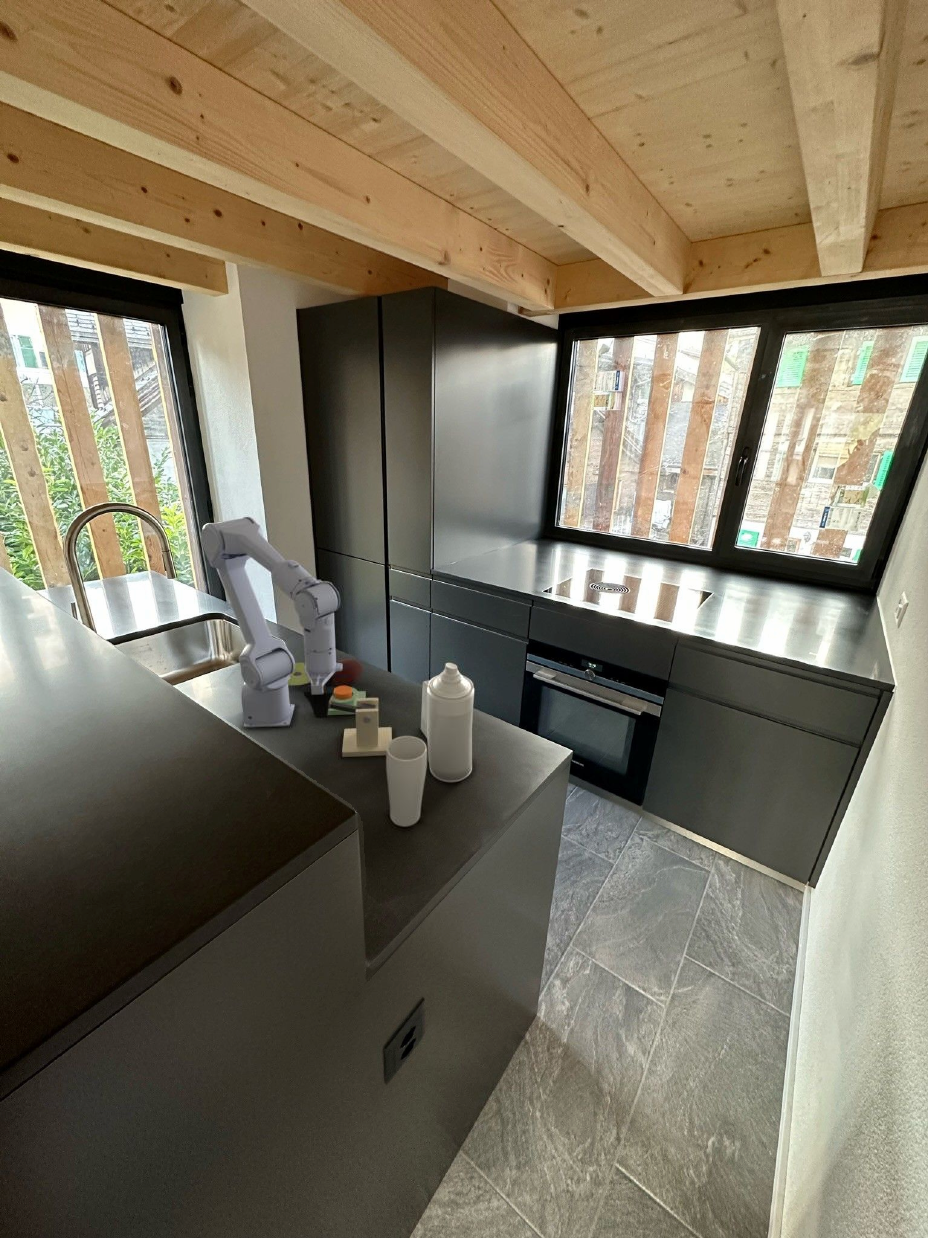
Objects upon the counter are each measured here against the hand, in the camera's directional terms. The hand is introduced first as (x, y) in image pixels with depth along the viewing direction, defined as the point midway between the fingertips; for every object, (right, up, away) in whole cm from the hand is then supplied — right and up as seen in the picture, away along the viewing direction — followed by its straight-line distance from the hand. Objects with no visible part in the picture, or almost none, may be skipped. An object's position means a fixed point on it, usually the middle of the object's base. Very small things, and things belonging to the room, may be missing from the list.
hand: (323, 706), depth 103 cm
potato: (-2, +1, +27) cm, 27 cm away
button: (0, 0, +17) cm, 17 cm away
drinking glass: (+18, -18, -12) cm, 28 cm away
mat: (-14, +2, +27) cm, 30 cm away
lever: (+4, -2, +1) cm, 4 cm away
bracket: (+8, -9, +5) cm, 13 cm away
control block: (0, -3, +18) cm, 18 cm away
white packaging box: (+23, -8, +10) cm, 27 cm away
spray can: (+25, -13, -1) cm, 28 cm away
